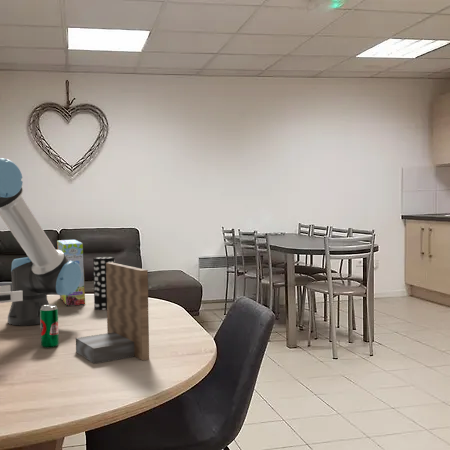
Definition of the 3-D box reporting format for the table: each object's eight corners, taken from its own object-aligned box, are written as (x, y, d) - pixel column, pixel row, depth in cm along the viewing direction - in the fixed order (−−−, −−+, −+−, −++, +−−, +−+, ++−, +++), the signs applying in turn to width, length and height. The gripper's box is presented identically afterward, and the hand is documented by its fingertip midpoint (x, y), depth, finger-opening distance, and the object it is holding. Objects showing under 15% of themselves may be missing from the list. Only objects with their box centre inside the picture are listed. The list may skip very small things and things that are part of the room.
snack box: (57, 298, 249) (56, 240, 248) (78, 296, 253) (76, 239, 252) (64, 306, 230) (62, 243, 228) (86, 304, 233) (84, 242, 232)
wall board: (70, 348, 164) (68, 265, 163) (113, 341, 172) (112, 262, 171) (101, 368, 144) (99, 274, 143) (149, 359, 152) (147, 270, 151)
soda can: (53, 348, 164) (52, 307, 163) (37, 348, 165) (36, 307, 164) (62, 344, 169) (61, 304, 168) (46, 343, 170) (45, 303, 169)
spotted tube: (96, 306, 230) (94, 257, 229) (116, 305, 230) (115, 256, 229) (93, 310, 221) (91, 259, 220) (114, 309, 222) (113, 258, 221)
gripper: (-73, 307, 160) (5, 299, 171) (-61, 321, 139) (28, 312, 151) (-74, 280, 159) (5, 275, 171) (-62, 291, 139) (27, 284, 150)
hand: (16, 292), depth 161 cm, fingers open, 13 cm apart
